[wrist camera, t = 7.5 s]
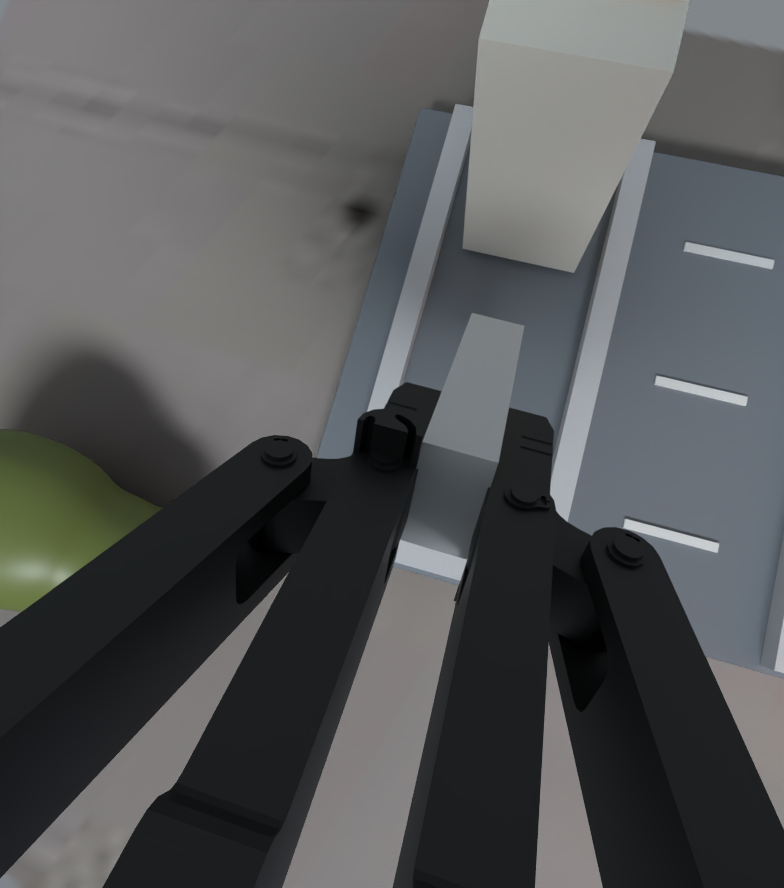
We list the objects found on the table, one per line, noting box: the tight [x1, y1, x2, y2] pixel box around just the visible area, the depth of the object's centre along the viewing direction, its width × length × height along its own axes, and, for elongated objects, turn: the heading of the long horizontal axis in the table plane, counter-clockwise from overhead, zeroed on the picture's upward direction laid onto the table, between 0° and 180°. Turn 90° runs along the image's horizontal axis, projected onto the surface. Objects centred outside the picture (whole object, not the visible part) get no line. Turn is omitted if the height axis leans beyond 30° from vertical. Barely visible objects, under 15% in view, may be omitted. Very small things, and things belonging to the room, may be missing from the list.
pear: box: [0, 429, 164, 612], centre depth 20 cm, size 6×5×10 cm
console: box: [317, 104, 784, 679], centre depth 20 cm, size 24×17×2 cm
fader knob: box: [462, 0, 690, 273], centre depth 17 cm, size 4×4×9 cm
